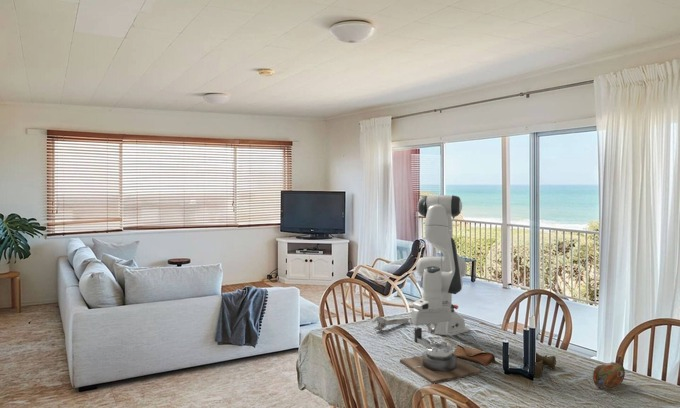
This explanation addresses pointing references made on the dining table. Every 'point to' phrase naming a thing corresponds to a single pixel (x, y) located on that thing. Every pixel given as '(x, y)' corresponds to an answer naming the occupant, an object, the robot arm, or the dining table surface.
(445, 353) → the grey crank handle
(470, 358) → the sunglasses case
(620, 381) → the mottled orange oval
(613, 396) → the dining table surface
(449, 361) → the square wooden board
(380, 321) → the wrench
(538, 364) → the kendama
